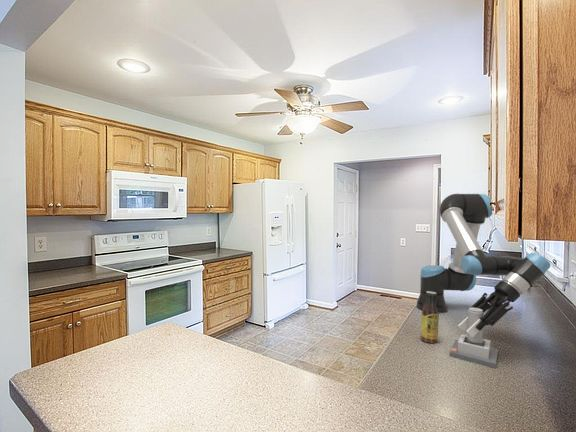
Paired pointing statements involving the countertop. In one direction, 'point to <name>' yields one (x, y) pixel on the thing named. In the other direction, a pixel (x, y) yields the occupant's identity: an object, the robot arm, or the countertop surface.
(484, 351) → the socket plate
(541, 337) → the countertop surface
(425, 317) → the sauce bottle
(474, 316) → the beverage can
